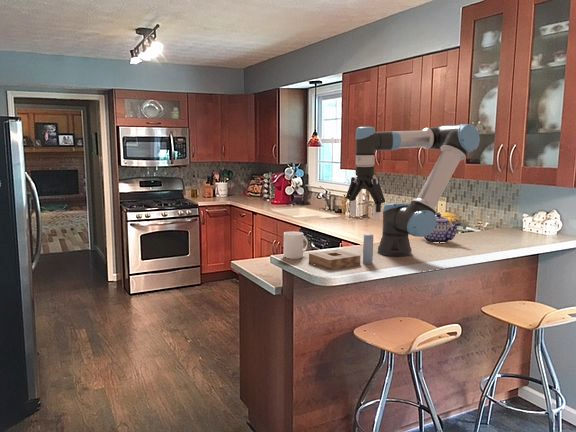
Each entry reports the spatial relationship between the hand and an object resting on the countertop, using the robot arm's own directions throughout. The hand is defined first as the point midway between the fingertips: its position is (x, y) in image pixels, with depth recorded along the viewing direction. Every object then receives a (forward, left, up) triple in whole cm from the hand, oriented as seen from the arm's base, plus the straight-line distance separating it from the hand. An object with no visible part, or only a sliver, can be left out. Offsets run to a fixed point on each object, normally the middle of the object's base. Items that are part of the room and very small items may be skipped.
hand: (364, 218), depth 200 cm
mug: (+16, -26, -20) cm, 36 cm away
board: (+10, -7, -19) cm, 23 cm away
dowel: (-3, -1, -19) cm, 20 cm away
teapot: (-66, -17, -20) cm, 71 cm away
